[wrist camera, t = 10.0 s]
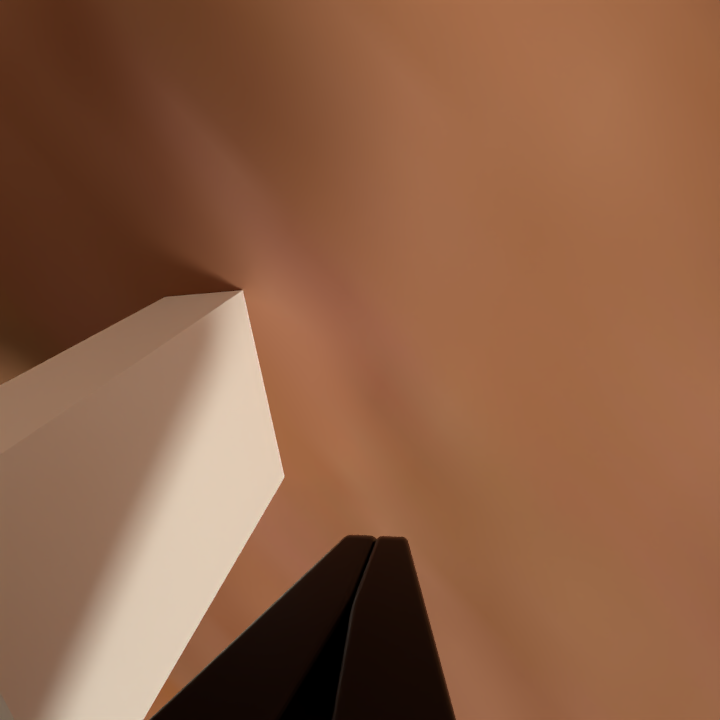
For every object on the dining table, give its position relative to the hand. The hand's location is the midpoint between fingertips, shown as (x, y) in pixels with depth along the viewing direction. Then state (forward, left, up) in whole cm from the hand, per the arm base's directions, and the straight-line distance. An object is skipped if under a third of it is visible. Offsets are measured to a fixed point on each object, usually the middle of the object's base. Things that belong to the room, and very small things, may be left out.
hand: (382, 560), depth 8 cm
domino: (0, +5, -5) cm, 7 cm away
